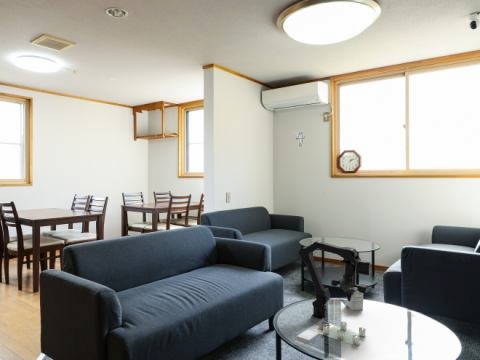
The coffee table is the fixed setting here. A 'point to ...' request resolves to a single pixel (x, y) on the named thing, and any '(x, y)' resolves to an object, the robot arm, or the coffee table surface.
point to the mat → (347, 334)
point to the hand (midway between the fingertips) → (349, 301)
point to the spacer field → (341, 333)
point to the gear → (323, 324)
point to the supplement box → (356, 301)
